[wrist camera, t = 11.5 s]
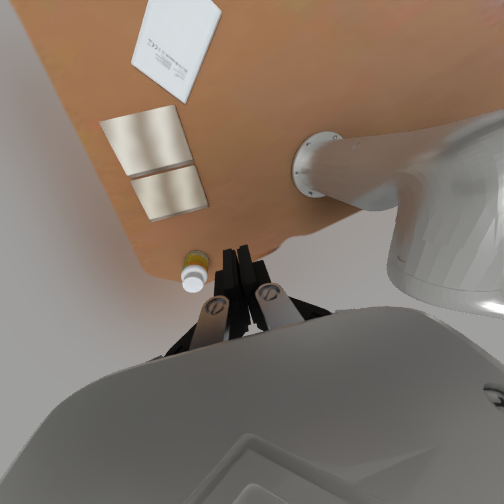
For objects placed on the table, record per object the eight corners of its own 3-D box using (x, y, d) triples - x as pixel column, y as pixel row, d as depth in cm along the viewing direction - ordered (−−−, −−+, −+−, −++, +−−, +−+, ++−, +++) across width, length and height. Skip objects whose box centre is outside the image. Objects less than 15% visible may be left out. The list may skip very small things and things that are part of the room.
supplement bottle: (187, 248, 42) (180, 272, 34) (210, 252, 44) (209, 276, 36) (184, 267, 45) (176, 293, 36) (206, 270, 46) (204, 296, 38)
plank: (195, 164, 34) (194, 165, 33) (208, 205, 38) (208, 207, 37) (132, 180, 34) (129, 181, 33) (152, 220, 38) (150, 222, 37)
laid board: (175, 106, 30) (173, 104, 29) (194, 162, 34) (193, 163, 33) (102, 123, 29) (98, 122, 28) (131, 178, 34) (128, 179, 33)
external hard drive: (221, 18, 27) (186, 105, 31) (164, -40, 23) (133, 66, 27) (221, 10, 25) (184, 103, 29) (161, -52, 22) (129, 62, 26)
